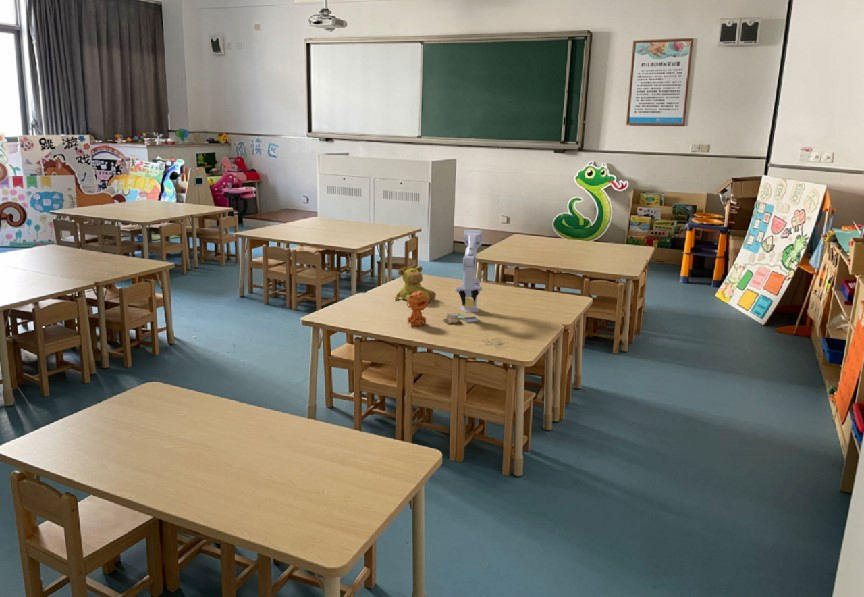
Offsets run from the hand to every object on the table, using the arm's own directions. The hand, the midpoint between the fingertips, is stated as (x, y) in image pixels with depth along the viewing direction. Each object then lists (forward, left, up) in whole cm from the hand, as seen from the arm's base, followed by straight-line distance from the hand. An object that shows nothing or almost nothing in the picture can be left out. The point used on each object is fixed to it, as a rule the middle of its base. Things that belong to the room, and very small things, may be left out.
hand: (468, 304), depth 347 cm
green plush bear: (-45, -14, -9) cm, 48 cm away
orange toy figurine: (0, -28, -9) cm, 29 cm away
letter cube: (0, 0, -1) cm, 1 cm away
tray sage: (-6, -4, -9) cm, 11 cm away
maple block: (+2, -9, -8) cm, 12 cm away
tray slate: (+2, +1, -9) cm, 9 cm away
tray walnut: (+2, -9, -9) cm, 13 cm away
